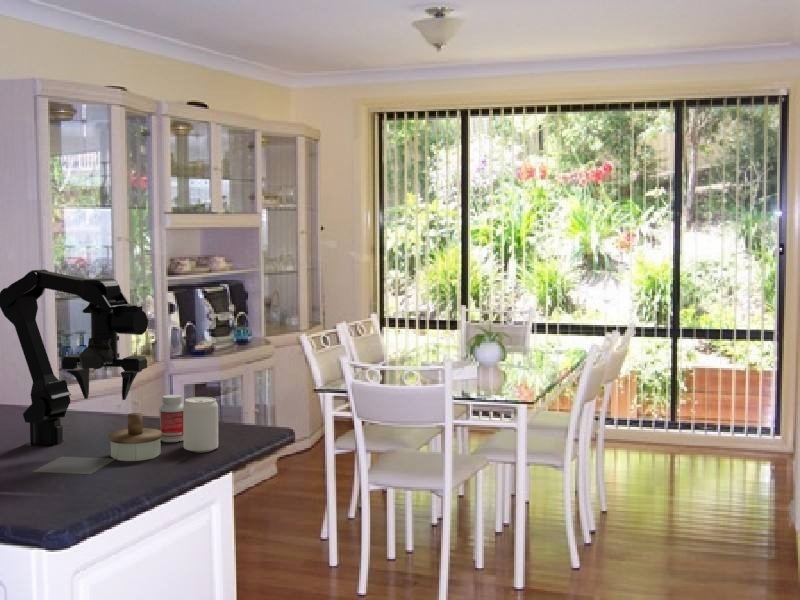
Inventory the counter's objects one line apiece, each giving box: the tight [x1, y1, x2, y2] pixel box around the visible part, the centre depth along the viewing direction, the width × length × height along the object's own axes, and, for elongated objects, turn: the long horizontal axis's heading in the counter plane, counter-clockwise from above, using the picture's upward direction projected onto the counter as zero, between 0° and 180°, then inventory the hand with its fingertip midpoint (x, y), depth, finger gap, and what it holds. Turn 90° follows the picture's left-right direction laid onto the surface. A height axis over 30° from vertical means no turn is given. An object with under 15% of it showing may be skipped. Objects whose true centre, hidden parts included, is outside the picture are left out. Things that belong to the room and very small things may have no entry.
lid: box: [108, 412, 162, 444], centre depth 214 cm, size 12×12×6 cm
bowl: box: [110, 439, 161, 462], centre depth 214 cm, size 10×10×5 cm
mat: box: [31, 456, 116, 475], centre depth 205 cm, size 13×13×1 cm
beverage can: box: [183, 396, 219, 453], centre depth 222 cm, size 8×8×12 cm
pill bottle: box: [159, 394, 184, 443], centre depth 232 cm, size 6×6×11 cm
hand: (105, 399), depth 218 cm, fingers open, 9 cm apart
